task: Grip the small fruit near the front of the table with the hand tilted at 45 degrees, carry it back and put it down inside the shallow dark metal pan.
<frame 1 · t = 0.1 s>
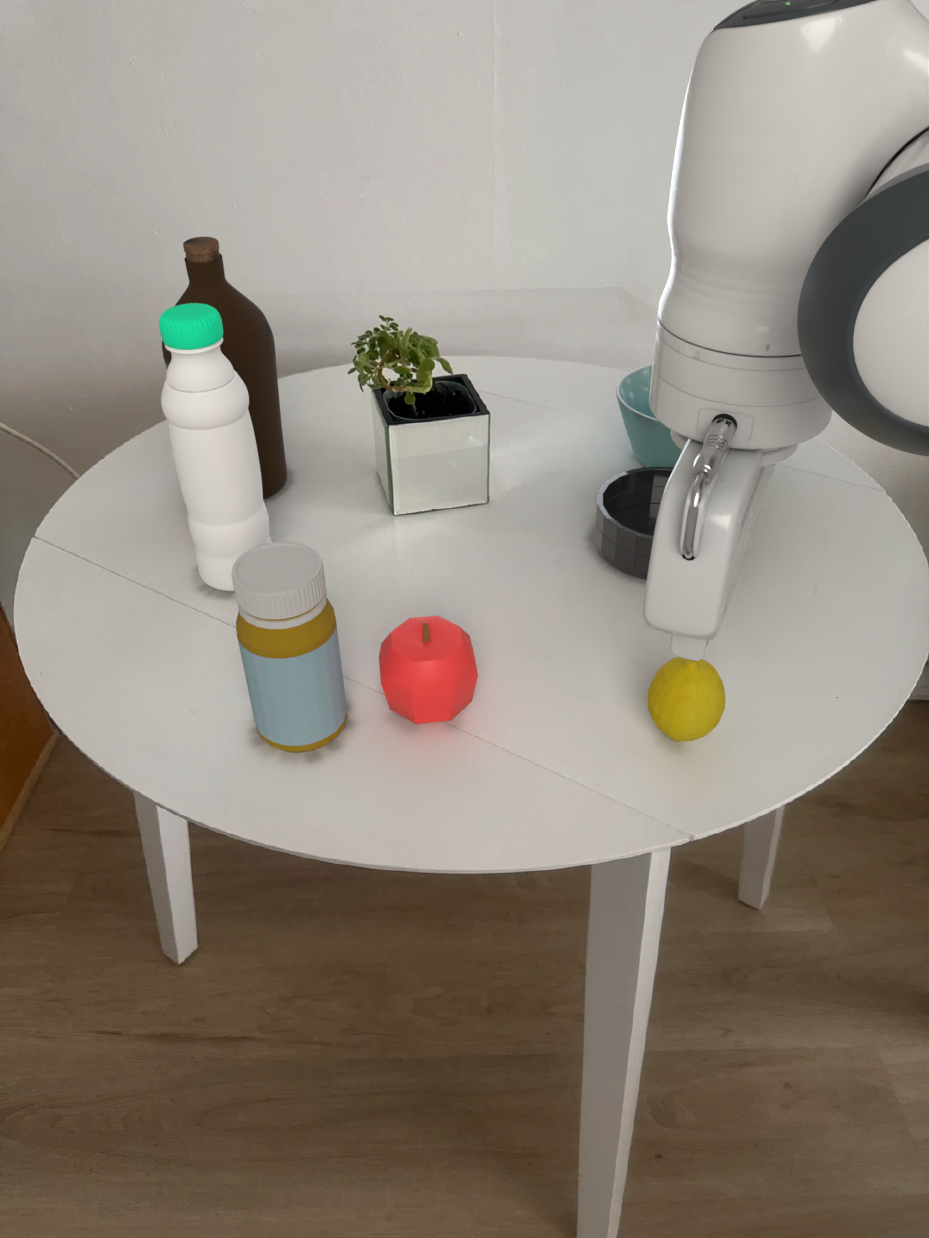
hand: (706, 600, 57), 19 cm above the table, tool pointing down, fingers open, 8 cm apart
bottle: (303, 726, 77), on the table
pan: (662, 542, 96), on the table
bowl: (683, 462, 108), on the table
water bottle: (238, 573, 93), on the table
fruit: (679, 738, 75), on the table
apple: (429, 704, 79), on the table
olive oil: (242, 483, 106), on the table
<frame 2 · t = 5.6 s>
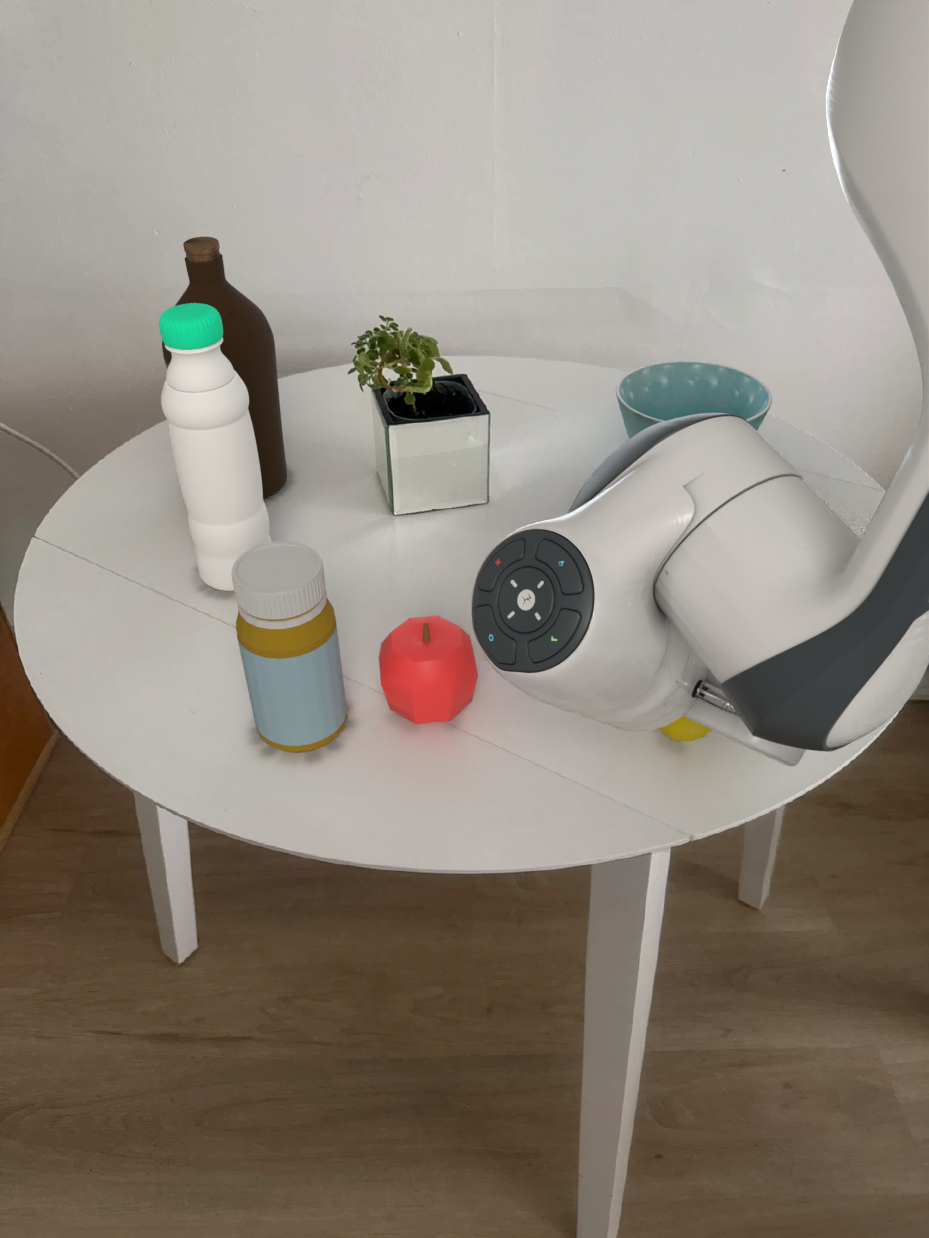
hand: (690, 689, 73), 4 cm above the table, tool tilted 45°, fingers closed on fruit, 5 cm apart
fruit: (679, 739, 75), on the table, touching gripper
everything else where it was.
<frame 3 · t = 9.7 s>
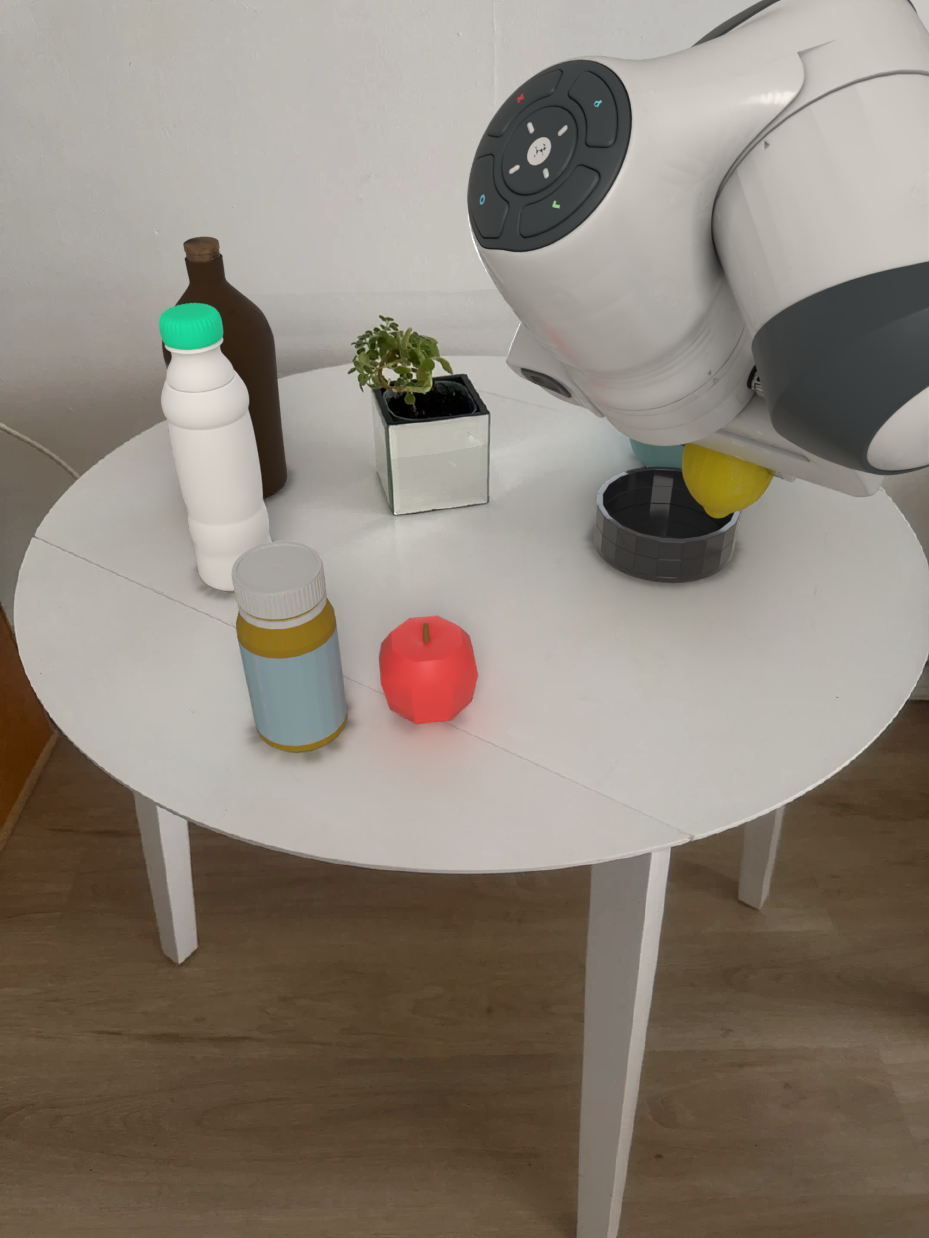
hand: (734, 449, 60), 24 cm above the table, tool tilted 45°, fingers closed on fruit, 5 cm apart
fruit: (719, 518, 63), point 20 cm above the table, touching gripper
everything else where it was.
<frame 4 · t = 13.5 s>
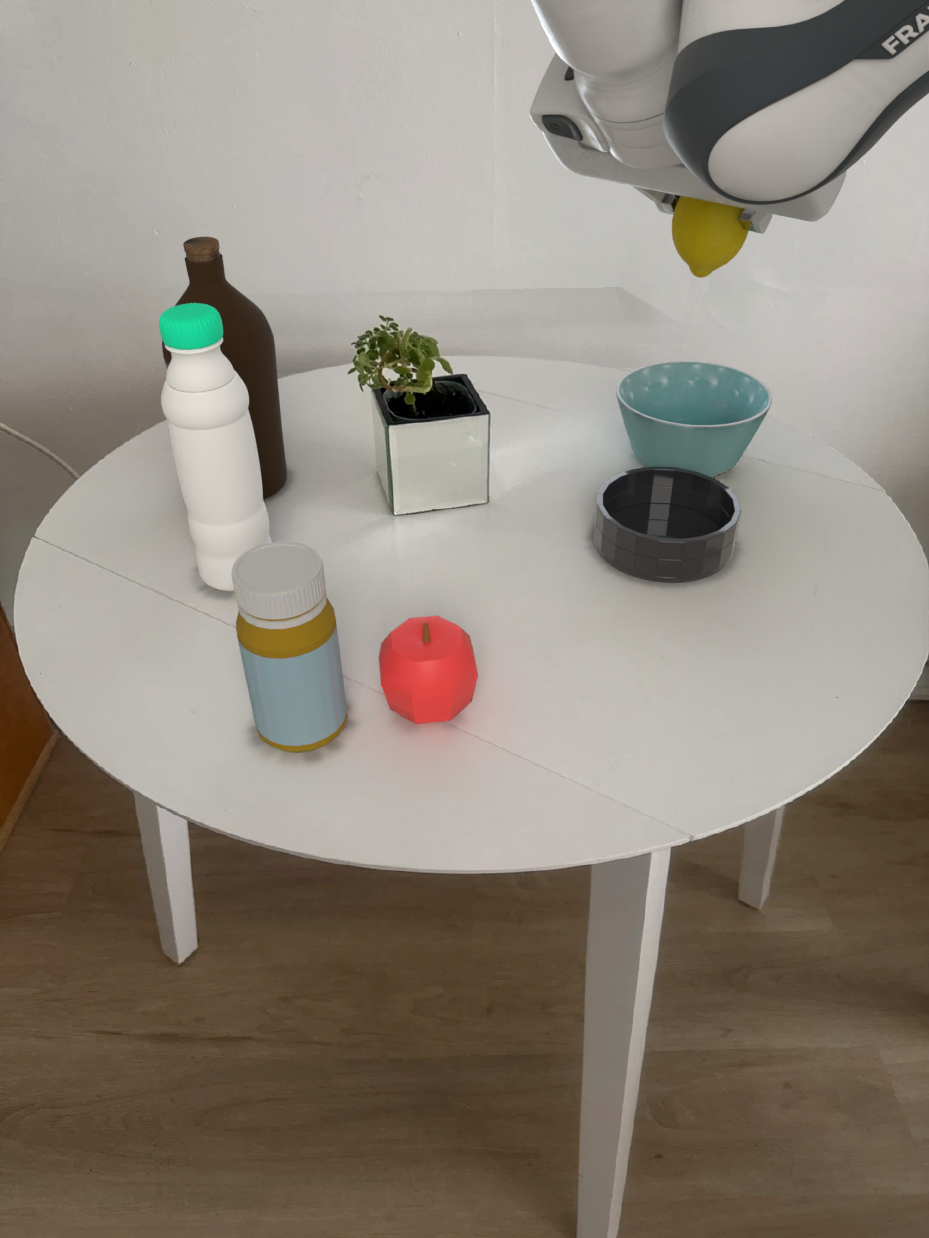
hand: (715, 214, 73), 32 cm above the table, tool tilted 45°, fingers closed on fruit, 5 cm apart
fruit: (702, 279, 75), point 27 cm above the table, touching gripper
everything else where it was.
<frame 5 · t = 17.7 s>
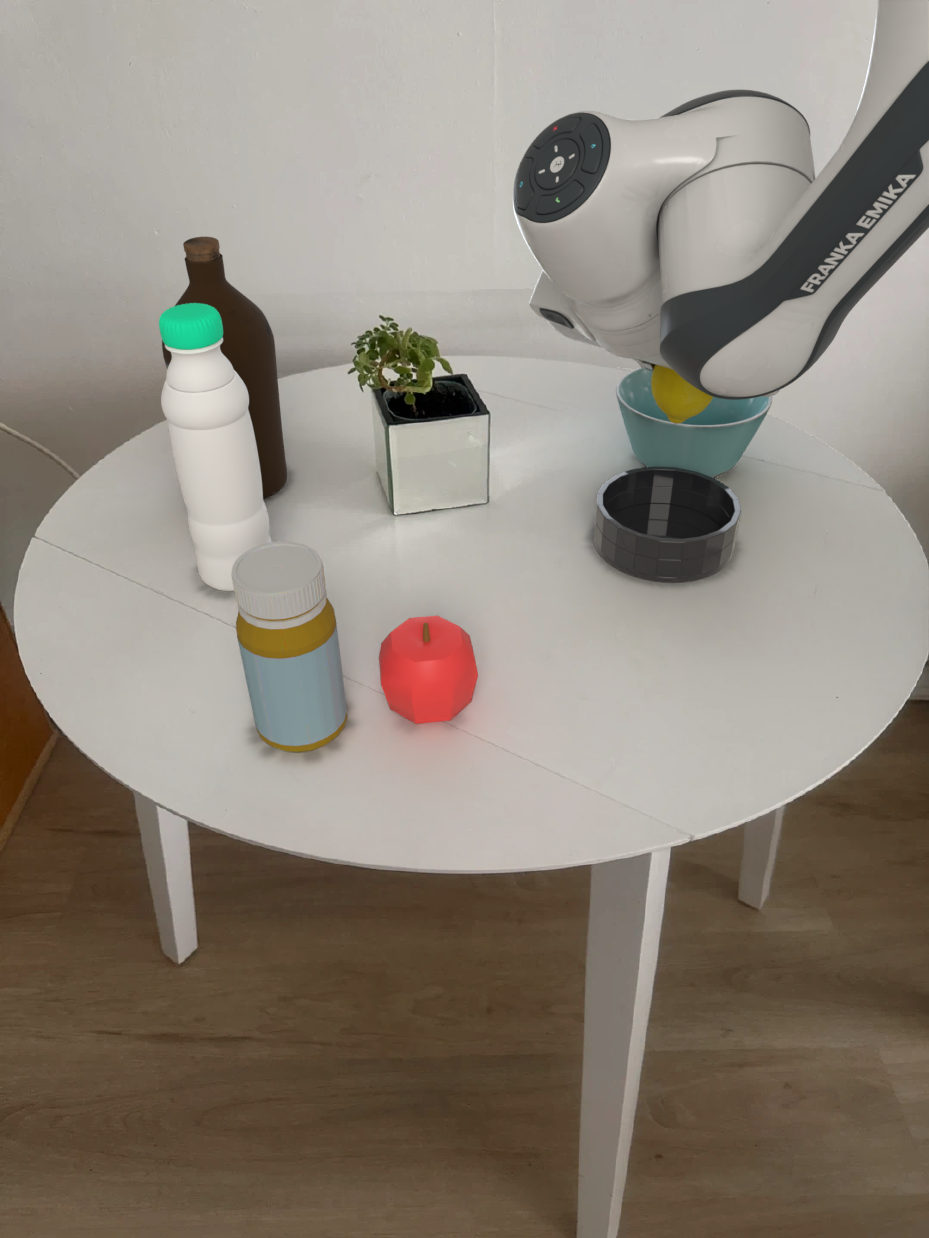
hand: (688, 373, 85), 17 cm above the table, tool tilted 45°, fingers closed on fruit, 5 cm apart
fruit: (678, 424, 88), point 13 cm above the table, touching gripper
everything else where it was.
when the fingers open (5 cm above the table, at t = 21.5 s): fruit stays where it is, resting on pan.
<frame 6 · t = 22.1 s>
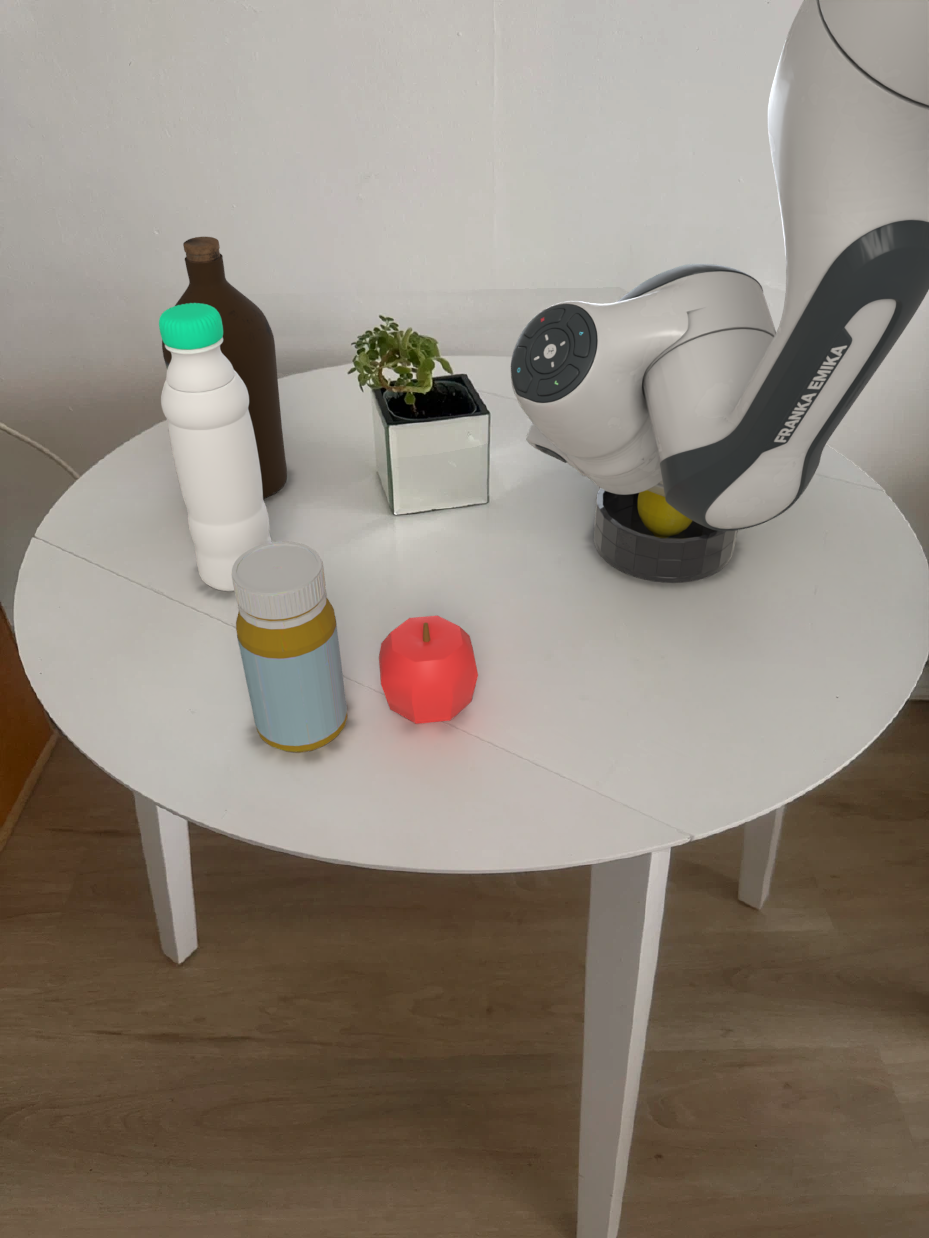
hand: (673, 491, 93), 5 cm above the table, tool tilted 45°, fingers open, 8 cm apart
fruit: (662, 539, 95), resting on pan
everything else where it was.
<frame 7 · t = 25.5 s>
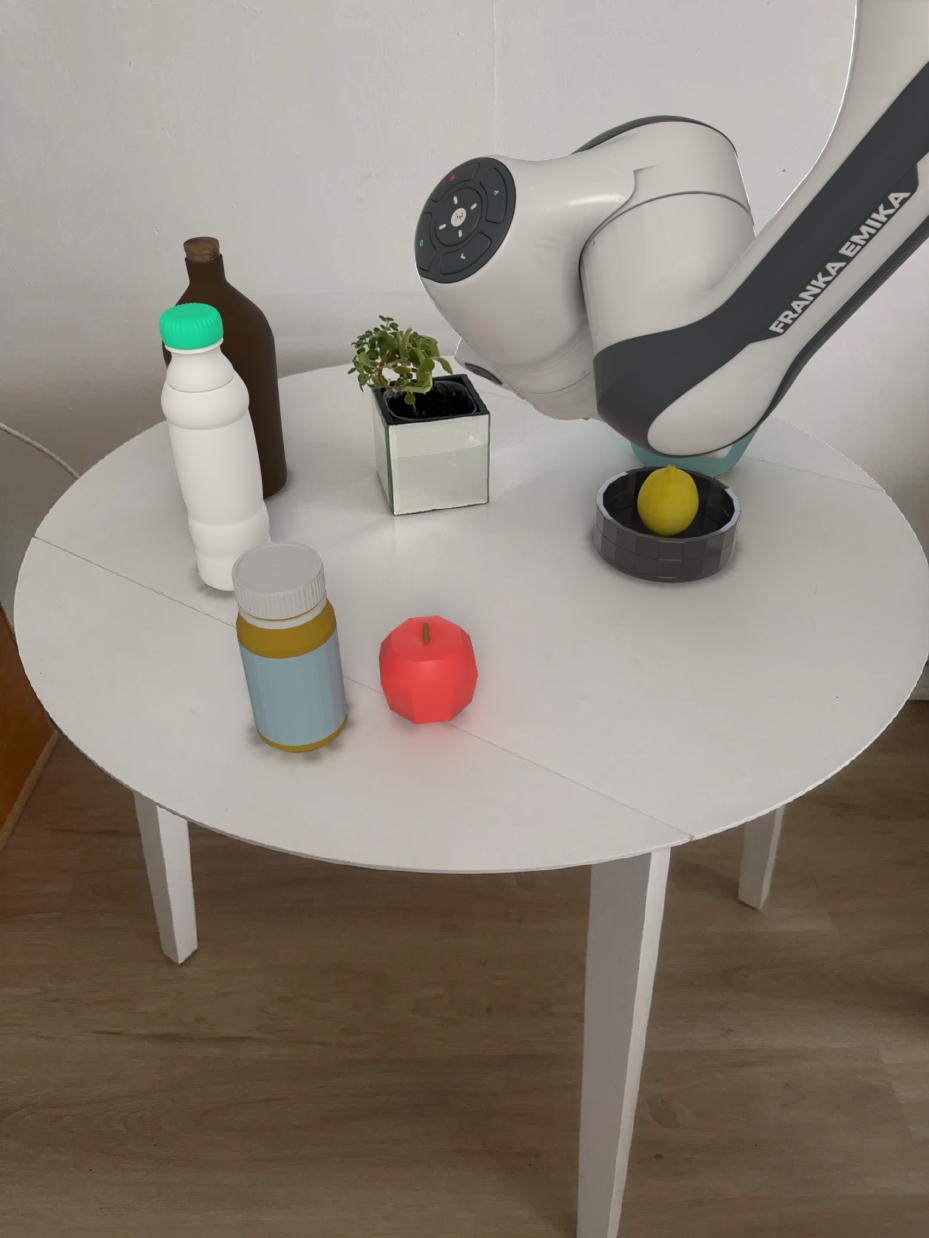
hand: (635, 426, 78), 17 cm above the table, tool tilted 45°, fingers open, 8 cm apart
nothing on the table moved.
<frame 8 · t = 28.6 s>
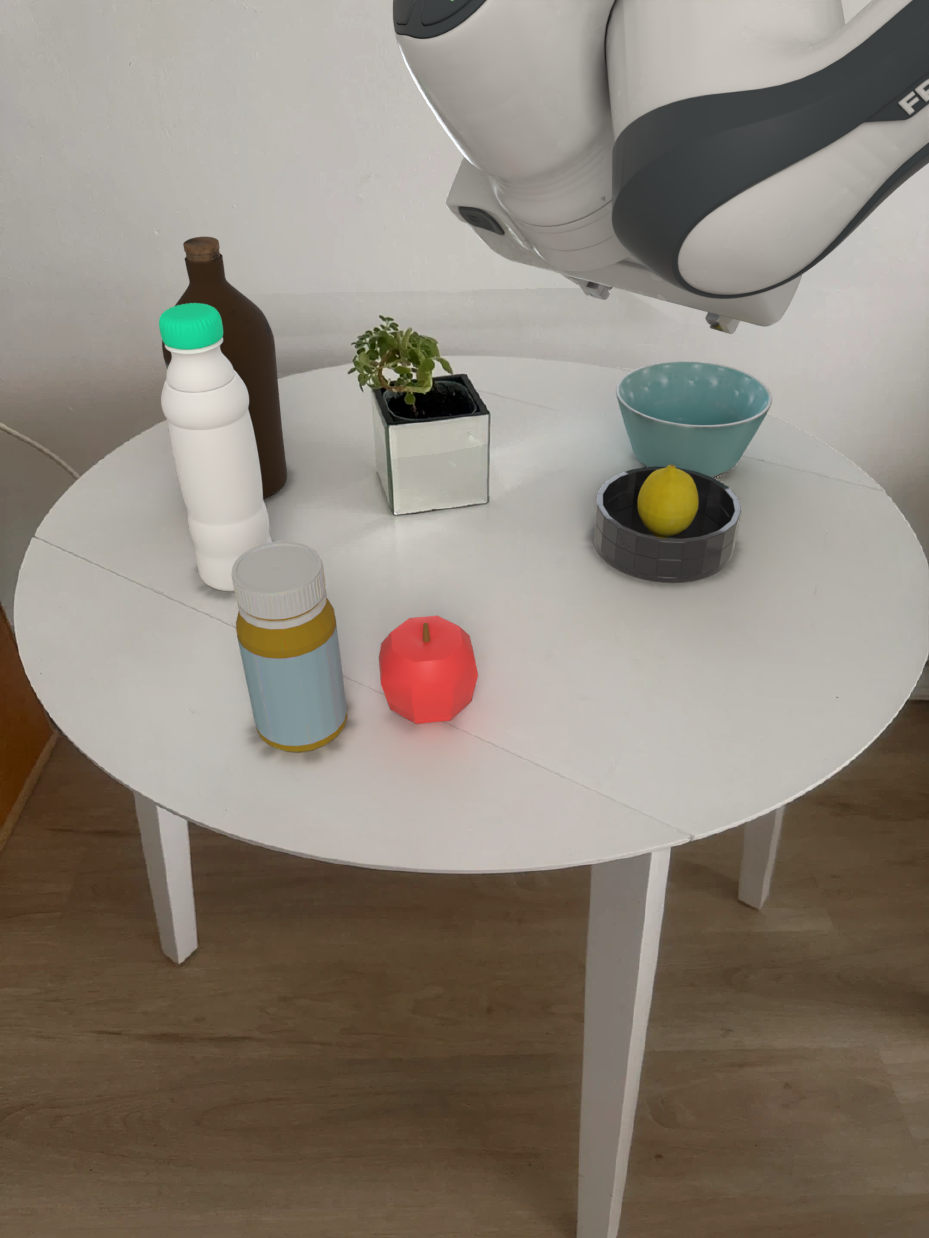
hand: (663, 304, 65), 29 cm above the table, tool tilted 45°, fingers open, 8 cm apart
nothing on the table moved.
at the end: fruit inside the target area in the pan (0.1 cm from its centre), point 0.4 cm above the pan's base; the gripper is holding nothing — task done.
